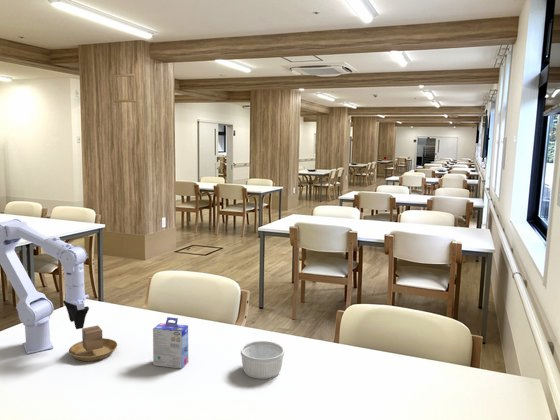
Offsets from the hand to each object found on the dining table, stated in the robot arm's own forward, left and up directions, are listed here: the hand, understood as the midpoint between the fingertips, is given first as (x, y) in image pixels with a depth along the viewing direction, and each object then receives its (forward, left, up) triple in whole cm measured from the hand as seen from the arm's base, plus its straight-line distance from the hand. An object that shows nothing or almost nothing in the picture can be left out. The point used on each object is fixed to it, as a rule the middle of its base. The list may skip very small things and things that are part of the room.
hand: (76, 324), depth 153 cm
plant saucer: (+4, +4, -10) cm, 11 cm away
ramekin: (+45, +43, -10) cm, 63 cm away
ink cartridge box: (+25, +22, -10) cm, 35 cm away
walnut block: (+4, +4, -7) cm, 9 cm away
